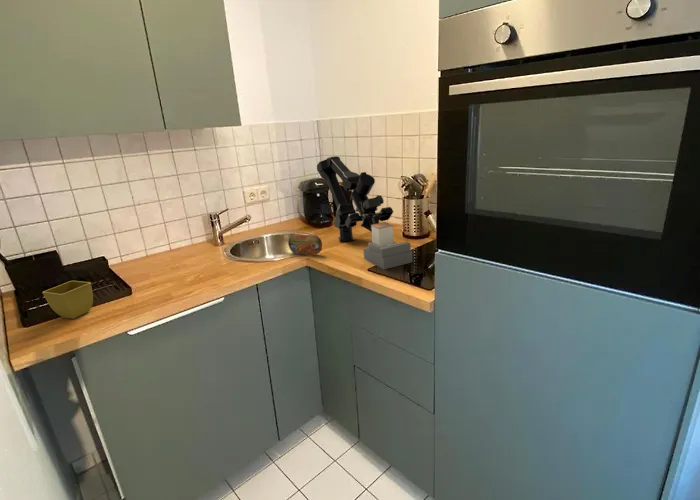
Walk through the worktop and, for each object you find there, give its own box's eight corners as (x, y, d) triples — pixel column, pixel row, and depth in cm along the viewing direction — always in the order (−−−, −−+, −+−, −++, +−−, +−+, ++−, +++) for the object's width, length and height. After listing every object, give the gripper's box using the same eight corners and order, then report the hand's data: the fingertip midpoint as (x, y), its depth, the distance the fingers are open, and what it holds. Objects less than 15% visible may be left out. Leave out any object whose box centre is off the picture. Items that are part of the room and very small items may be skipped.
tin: (289, 253, 154) (286, 233, 151) (293, 251, 157) (291, 231, 154) (320, 257, 147) (318, 236, 145) (324, 254, 150) (322, 234, 147)
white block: (372, 247, 140) (371, 224, 138) (386, 244, 143) (385, 222, 140) (379, 250, 136) (378, 227, 133) (393, 247, 139) (392, 224, 136)
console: (364, 258, 142) (363, 240, 140) (390, 252, 147) (390, 235, 145) (384, 269, 130) (383, 250, 128) (412, 262, 135) (412, 243, 133)
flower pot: (50, 319, 110) (40, 291, 107) (80, 306, 117) (71, 279, 114) (71, 323, 106) (61, 294, 104) (100, 309, 114) (91, 282, 111)
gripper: (346, 192, 136) (363, 228, 130) (389, 186, 144) (407, 219, 138) (338, 210, 145) (354, 244, 139) (380, 203, 153) (396, 235, 147)
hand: (378, 235), depth 141 cm, fingers closed
